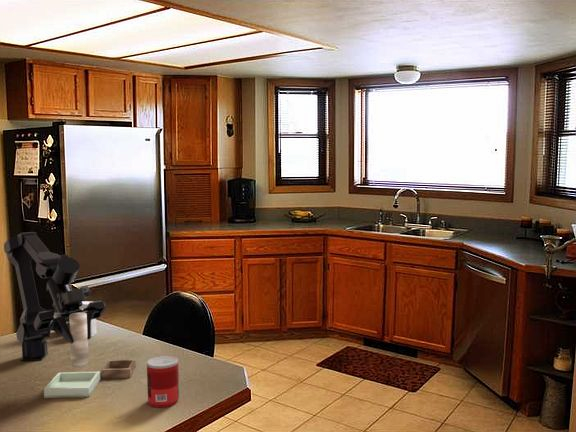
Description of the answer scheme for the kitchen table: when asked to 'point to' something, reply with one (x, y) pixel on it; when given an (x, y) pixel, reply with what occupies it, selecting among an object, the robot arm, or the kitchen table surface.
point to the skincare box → (93, 321)
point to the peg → (79, 339)
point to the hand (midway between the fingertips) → (81, 340)
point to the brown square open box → (119, 368)
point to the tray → (72, 384)
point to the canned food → (162, 381)
